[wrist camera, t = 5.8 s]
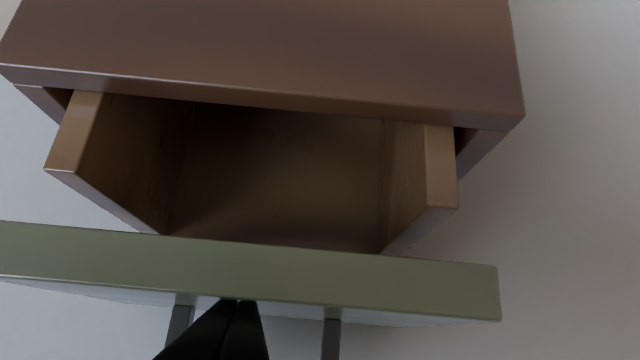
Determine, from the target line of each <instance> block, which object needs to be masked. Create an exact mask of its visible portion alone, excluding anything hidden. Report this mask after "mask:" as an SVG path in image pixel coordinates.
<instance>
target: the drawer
mask: <svg viewBox="0 0 640 360" xmlns="http://www.w3.org/2000/svg"><path fill="white" fill-rule="evenodd" d="M43 170H44V171H45V172H47V173H49V174H50V175H52V176H53V177H55V178H56V179H58V180H60V181H61V182H63V183H64V184H66V185H67V186H69V187H70V188H72V189H74V190H75V191H77V192H78V193H80V194H81V195H83V196H85V197H86V198H88V199H89V200H91V201H92V202H94V203H96V204H97V205H99V206H100V207H102V208H103V209H105V210H106V211H108V212H110V213H111V214H113V215H114V216H116V217H117V218H119V219H121V220H122V221H124V222H125V223H127V224H128V225H130V226H131V227H133V228H135V229H136V230H138V231H139V232H141V233H135V232H124V231H113V230H103V229H92V228H81V227H70V226H59V225H48V224H37V223H26V222H15V221H4V220H0V281H2V282H8V283H14V284H19V285H25V286H31V287H36V288H42V289H48V290H53V291H59V292H65V293H71V294H76V295H82V296H88V297H93V298H99V299H105V300H110V301H116V302H122V303H131V304H143V305H154V306H165V307H173V311H172V316H171V320H170V325H169V329H168V334H167V338H166V343H165V347H164V349H165V348H166V347H167V346H168V345H169V344H170V343H171V342H172V341H173V340H175V339H176V338H177V337H178V336H179V335H180V334H181V333H182V332H184V331H185V330H186V329H187V328H188V327H189V326H190V325H191V324H192V323H193V319H194V314H195V309H199V310H208V309H209V308H210V307H212V306H213V305H214V304H215V303H216V302H217V301H218V300H220V299H229V300H237V301H238V302H239V301H251V302H256V303H257V304H258V309H259V314H260V315H267V316H278V317H290V318H301V319H312V320H323V324H322V338H321V351H320V360H339V356H340V338H341V322H346V323H357V324H369V325H380V326H391V327H403V328H408V327H425V326H442V325H460V324H477V323H494V322H500V321H502V313H501V303H500V293H499V283H498V273H497V267H496V266H494V265H485V264H474V263H463V262H452V261H441V260H430V259H419V258H408V257H398V256H399V255H400V254H402V253H403V252H404V251H405V250H407V249H408V248H409V247H411V246H412V245H413V244H414V243H416V242H417V241H418V240H419V239H421V238H422V237H423V236H425V235H426V234H427V233H428V232H430V231H431V230H432V229H433V228H435V227H436V226H437V225H439V224H440V223H441V222H442V221H444V220H445V219H446V218H447V217H449V216H450V215H451V214H453V213H454V212H455V211H456V210H458V208H459V206H458V190H457V175H456V159H455V144H454V128H453V126H443V125H433V124H423V123H413V122H402V121H392V120H382V119H372V118H361V117H351V116H341V115H331V114H320V113H310V112H300V111H290V110H279V109H269V108H259V107H249V106H238V105H228V104H218V103H208V102H197V101H187V100H177V99H167V98H156V97H146V96H136V95H126V94H115V93H105V92H95V91H85V90H74V92H73V95H72V97H71V100H70V102H69V105H68V107H67V110H66V112H65V115H64V117H63V120H62V122H61V125H60V127H59V130H58V132H57V135H56V137H55V140H54V142H53V145H52V147H51V150H50V152H49V155H48V157H47V160H46V162H45V165H44V167H43Z"/></svg>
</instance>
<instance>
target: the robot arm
mask: <svg viewBox="0 0 640 360" xmlns="http://www.w3.org/2000/svg"><path fill="white" fill-rule="evenodd" d="M152 360H270V359H269V355H268V350H267V346H266V341H265V336H264V332H263V327H262V323H261V318H260V314H259V309H258V304H257V303H256V302H251V301H239V302H238V301H237V300H229V299H220V300H218V301H217V302H216V303H215V304H214V305H213V306H212V307H210V308H209V309H208V310H207V311H206V312H205V313H204V314H203V315H201V316H200V317H199V318H198V319H197V320H196V321H195V322H194V323H192V324H191V325H190V326H189V327H188V328H187V329H186V330H185V331H184V332H182V333H181V334H180V335H179V336H178V337H177V338H176V339H175V340H173V341H172V342H171V343H170V344H169V345H168V346H167V347H166V348H165V349H163V350H162V351H161V352H160V353H159V354H158V355H157V356H156V357H154V358H153V359H152Z"/></svg>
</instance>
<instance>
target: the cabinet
mask: <svg viewBox="0 0 640 360" xmlns="http://www.w3.org/2000/svg"><path fill="white" fill-rule="evenodd" d="M0 74H2V75H3V76H4V77H5V78H6V79H7V80H8V81H10V82H11V83H13V85H14V86H15V87H16V88H17V89H18V90H19V91H20V92H22V93H23V94H24V95H25V96H26V97H27V98H29V99H30V100H31V101H32V102H33V103H34V104H35V105H37V106H38V107H39V108H40V109H41V110H42V111H43V112H45V113H46V114H47V115H48V116H49V117H50V118H52V119H53V120H54V121H55V122H56V123H57V124H58V125H61V122H62V120H63V117H64V115H65V112H66V110H67V107H68V105H69V102H70V100H71V97H72V95H73V92H74V90H85V91H95V92H105V93H115V94H126V95H136V96H146V97H156V98H167V99H177V100H187V101H197V102H208V103H218V104H228V105H238V106H249V107H259V108H269V109H279V110H290V111H300V112H310V113H320V114H331V115H341V116H351V117H361V118H372V119H382V120H392V121H402V122H413V123H423V124H433V125H443V126H453V128H454V144H455V159H456V175H457V182H458V181H459V180H460V179H461V178H463V177H464V176H465V175H466V174H467V173H468V172H469V171H470V170H471V169H472V168H473V167H474V166H475V165H476V164H477V163H478V162H479V161H480V160H481V159H482V158H483V157H484V156H486V155H487V154H488V153H489V152H490V151H491V150H492V149H493V148H494V147H495V146H496V145H497V144H498V143H499V142H500V141H501V140H502V139H503V138H504V137H505V136H506V135H507V134H508V132H509V131H511V130H512V129H513V128H514V127H515V126H516V125H517V124H518V123H519V122H520V121H521V120H522V119H523V118H524V117H525V107H524V101H523V94H522V88H521V81H520V75H519V68H518V61H517V55H516V48H515V42H514V35H513V28H512V22H511V15H510V9H509V2H508V0H22V1H21V3H20V5H19V7H18V9H17V11H16V12H15V14H14V16H13V18H12V20H11V22H10V24H9V26H8V28H7V30H6V31H5V33H4V35H3V37H2V39H1V41H0Z"/></svg>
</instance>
